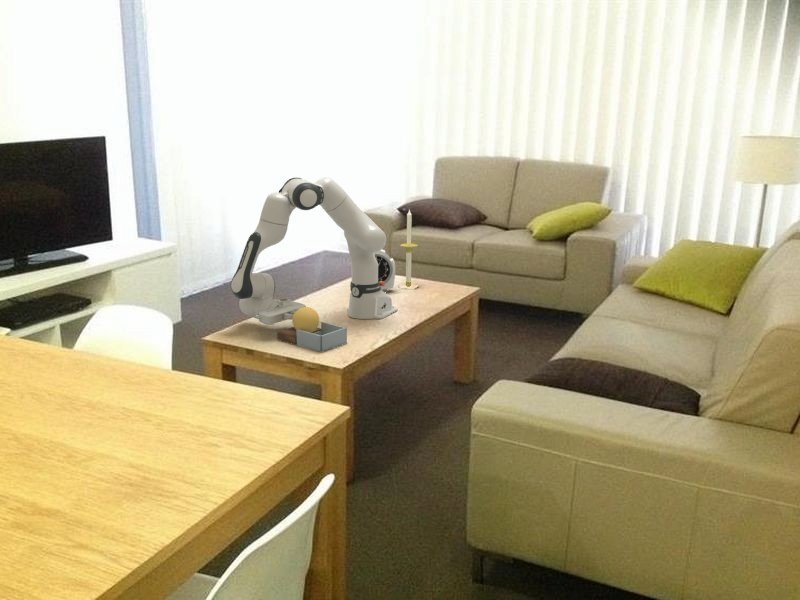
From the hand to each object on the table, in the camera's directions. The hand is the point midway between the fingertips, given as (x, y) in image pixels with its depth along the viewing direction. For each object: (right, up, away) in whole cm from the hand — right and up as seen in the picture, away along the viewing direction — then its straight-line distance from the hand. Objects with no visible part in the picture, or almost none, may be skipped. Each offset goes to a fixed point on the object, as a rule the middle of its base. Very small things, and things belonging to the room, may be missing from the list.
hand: (297, 317), depth 305 cm
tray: (+10, -10, -6) cm, 15 cm away
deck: (+1, -8, +1) cm, 8 cm away
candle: (+43, +13, +80) cm, 92 cm away
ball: (+4, -1, -4) cm, 5 cm away
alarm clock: (+28, +10, +71) cm, 77 cm away
